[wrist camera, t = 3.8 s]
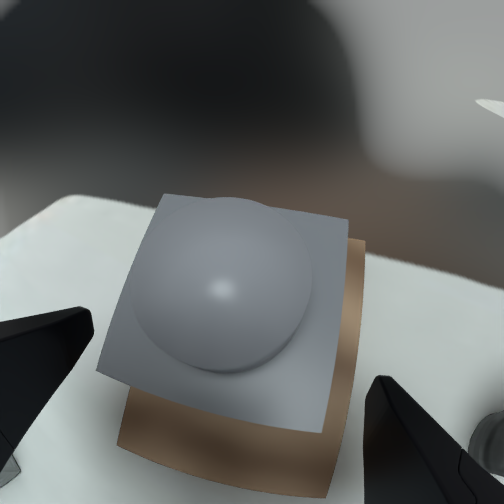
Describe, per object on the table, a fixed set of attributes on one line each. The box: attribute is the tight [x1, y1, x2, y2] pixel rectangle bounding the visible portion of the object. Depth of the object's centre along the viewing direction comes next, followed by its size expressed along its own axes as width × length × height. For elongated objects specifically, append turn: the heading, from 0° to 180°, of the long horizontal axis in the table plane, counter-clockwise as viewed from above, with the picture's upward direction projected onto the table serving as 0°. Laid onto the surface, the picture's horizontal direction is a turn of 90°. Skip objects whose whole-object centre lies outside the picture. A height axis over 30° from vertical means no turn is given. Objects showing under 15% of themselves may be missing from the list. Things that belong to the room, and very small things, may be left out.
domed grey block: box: [96, 194, 349, 433], centre depth 10 cm, size 6×6×10 cm
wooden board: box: [117, 238, 365, 498], centre depth 14 cm, size 16×12×6 cm
